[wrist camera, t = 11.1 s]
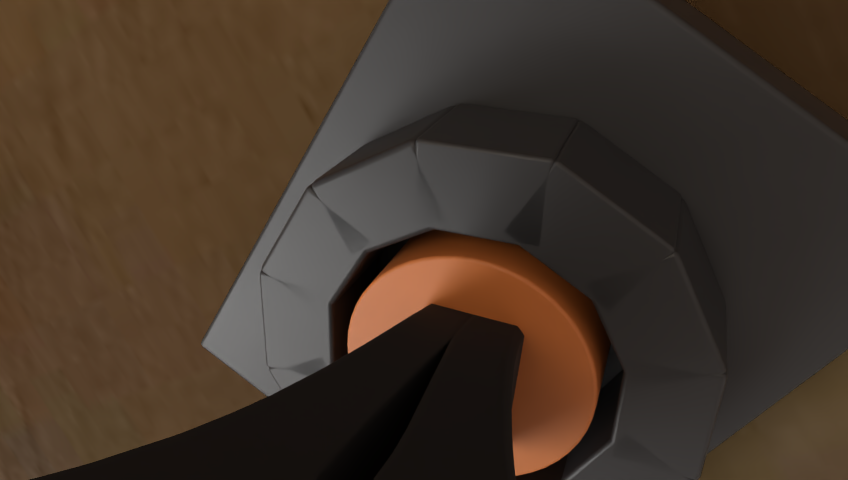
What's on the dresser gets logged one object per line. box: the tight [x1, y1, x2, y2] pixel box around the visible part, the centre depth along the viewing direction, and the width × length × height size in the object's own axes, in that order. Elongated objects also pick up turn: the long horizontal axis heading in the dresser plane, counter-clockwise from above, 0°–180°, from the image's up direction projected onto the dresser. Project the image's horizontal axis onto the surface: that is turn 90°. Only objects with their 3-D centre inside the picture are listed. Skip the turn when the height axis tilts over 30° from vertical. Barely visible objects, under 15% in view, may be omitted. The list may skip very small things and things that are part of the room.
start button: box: [347, 229, 611, 476], centre depth 11 cm, size 4×4×2 cm
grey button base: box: [201, 0, 848, 480], centre depth 12 cm, size 10×8×4 cm
